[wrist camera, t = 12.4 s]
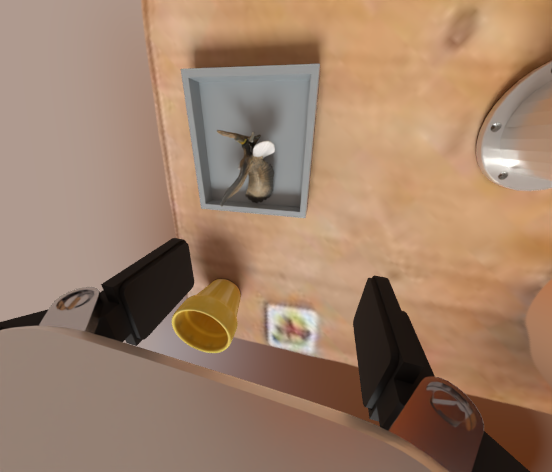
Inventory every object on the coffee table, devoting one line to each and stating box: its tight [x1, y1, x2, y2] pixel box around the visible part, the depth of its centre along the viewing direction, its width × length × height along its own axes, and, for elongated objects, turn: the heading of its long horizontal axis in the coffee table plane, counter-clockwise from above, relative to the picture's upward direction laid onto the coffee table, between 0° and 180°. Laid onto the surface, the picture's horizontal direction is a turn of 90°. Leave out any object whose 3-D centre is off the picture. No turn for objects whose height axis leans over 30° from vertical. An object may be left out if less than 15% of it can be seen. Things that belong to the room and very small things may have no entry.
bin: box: [181, 64, 320, 218], centre depth 26 cm, size 16×17×3 cm
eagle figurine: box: [217, 130, 275, 207], centre depth 26 cm, size 8×7×9 cm
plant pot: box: [172, 279, 241, 353], centre depth 36 cm, size 10×10×10 cm
